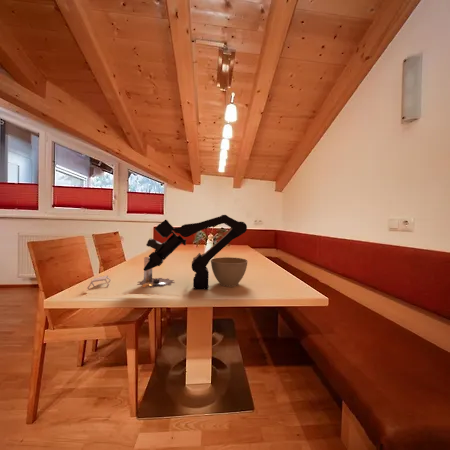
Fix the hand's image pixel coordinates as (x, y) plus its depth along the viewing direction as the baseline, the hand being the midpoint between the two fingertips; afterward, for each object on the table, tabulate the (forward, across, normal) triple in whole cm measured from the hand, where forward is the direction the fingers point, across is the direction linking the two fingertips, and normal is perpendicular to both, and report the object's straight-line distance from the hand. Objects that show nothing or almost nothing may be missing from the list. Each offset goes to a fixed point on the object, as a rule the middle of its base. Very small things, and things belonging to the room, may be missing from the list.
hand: (145, 269), depth 108 cm
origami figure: (+19, 0, -7) cm, 20 cm away
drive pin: (+3, 0, +5) cm, 6 cm away
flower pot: (-21, -6, +34) cm, 41 cm away
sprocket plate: (+3, -4, +9) cm, 11 cm away
